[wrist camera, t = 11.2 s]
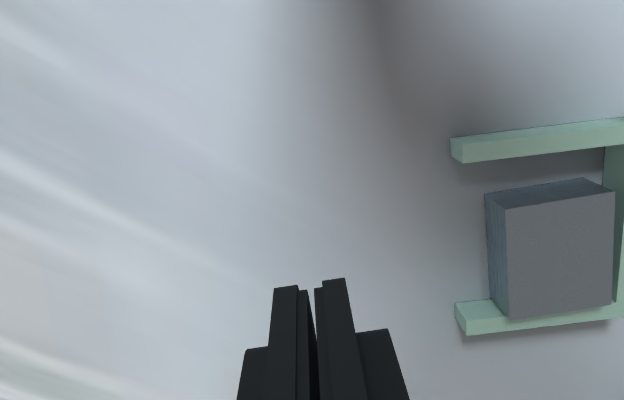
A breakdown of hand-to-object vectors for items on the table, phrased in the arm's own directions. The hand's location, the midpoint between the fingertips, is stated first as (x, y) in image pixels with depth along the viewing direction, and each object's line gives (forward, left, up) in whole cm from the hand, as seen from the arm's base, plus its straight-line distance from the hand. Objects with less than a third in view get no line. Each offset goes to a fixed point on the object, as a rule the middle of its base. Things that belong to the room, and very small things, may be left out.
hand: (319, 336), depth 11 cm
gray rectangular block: (+12, +19, -28) cm, 36 cm away
